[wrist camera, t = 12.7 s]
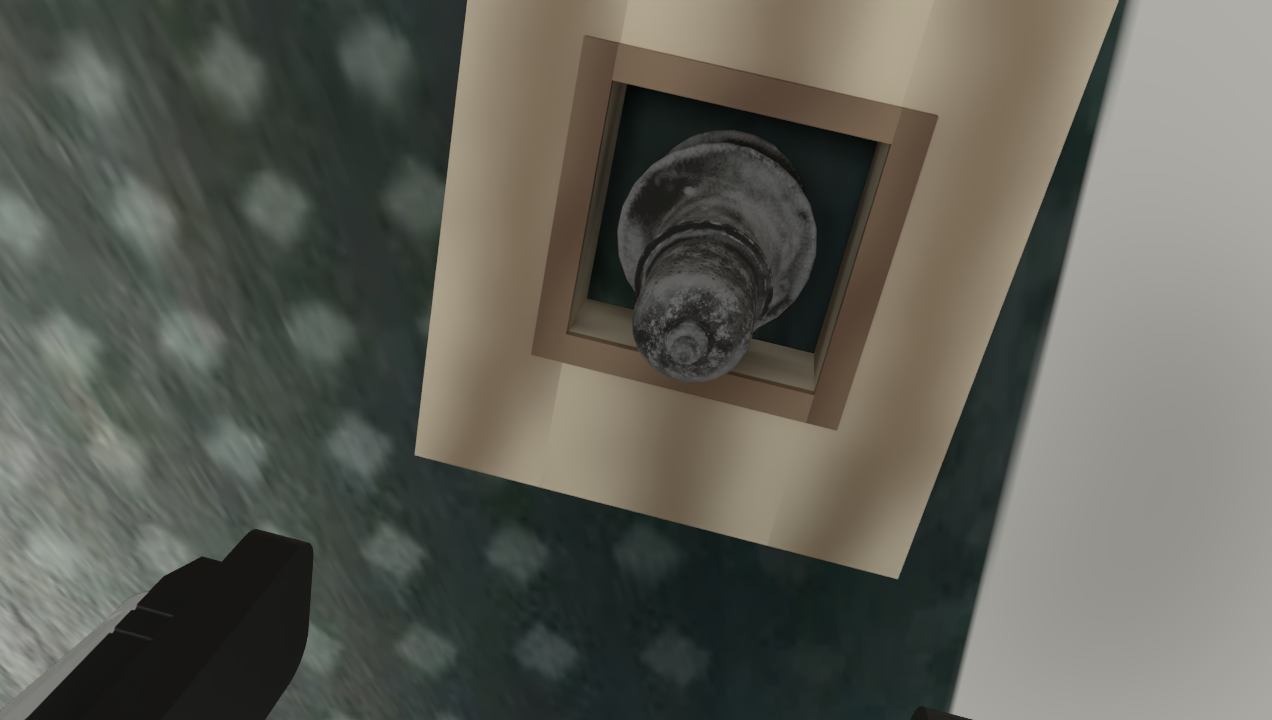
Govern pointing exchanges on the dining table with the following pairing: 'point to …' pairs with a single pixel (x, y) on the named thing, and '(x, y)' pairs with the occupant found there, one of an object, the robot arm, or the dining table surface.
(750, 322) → the dark grey tall piece
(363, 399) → the dining table surface
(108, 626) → the cup
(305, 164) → the dining table surface
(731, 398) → the birch frame
